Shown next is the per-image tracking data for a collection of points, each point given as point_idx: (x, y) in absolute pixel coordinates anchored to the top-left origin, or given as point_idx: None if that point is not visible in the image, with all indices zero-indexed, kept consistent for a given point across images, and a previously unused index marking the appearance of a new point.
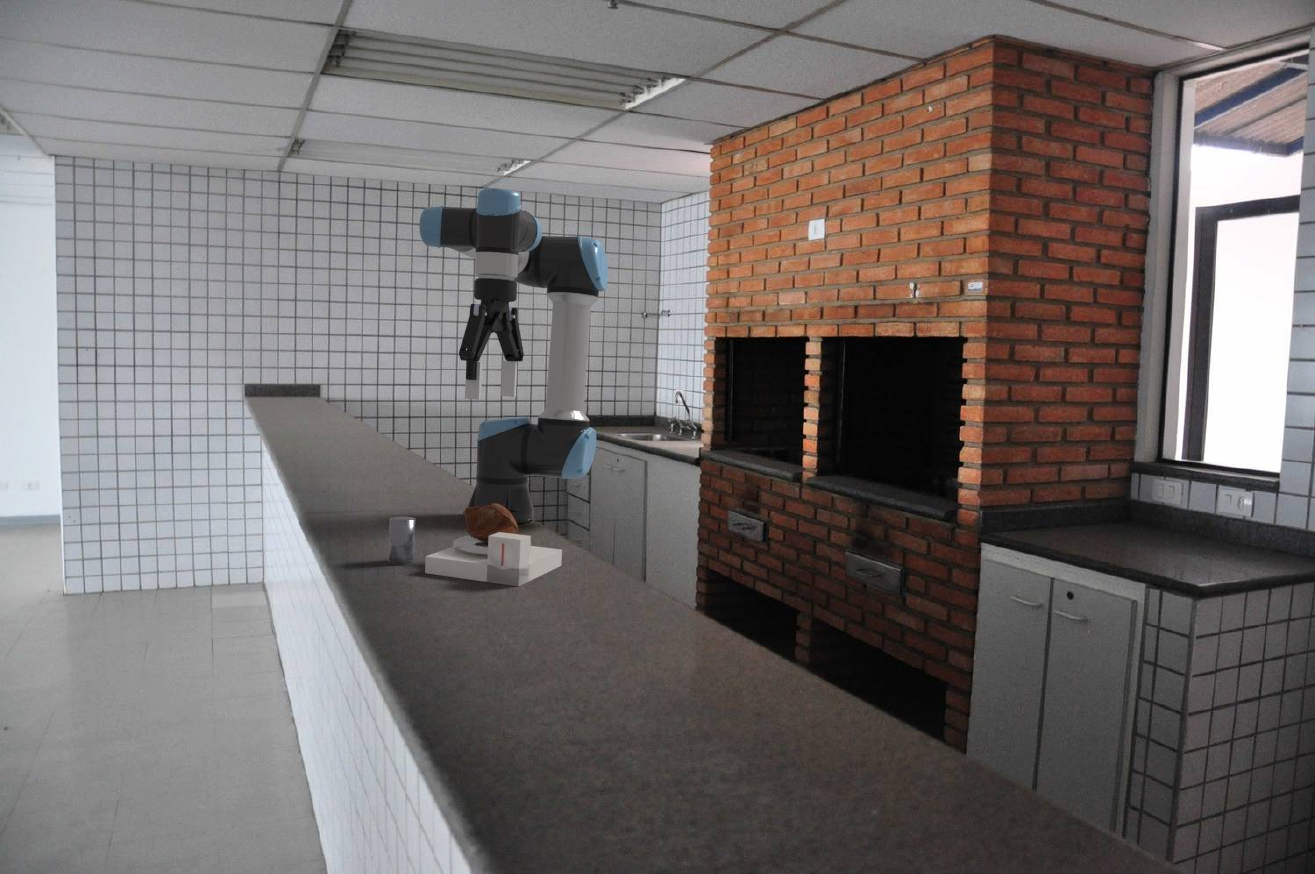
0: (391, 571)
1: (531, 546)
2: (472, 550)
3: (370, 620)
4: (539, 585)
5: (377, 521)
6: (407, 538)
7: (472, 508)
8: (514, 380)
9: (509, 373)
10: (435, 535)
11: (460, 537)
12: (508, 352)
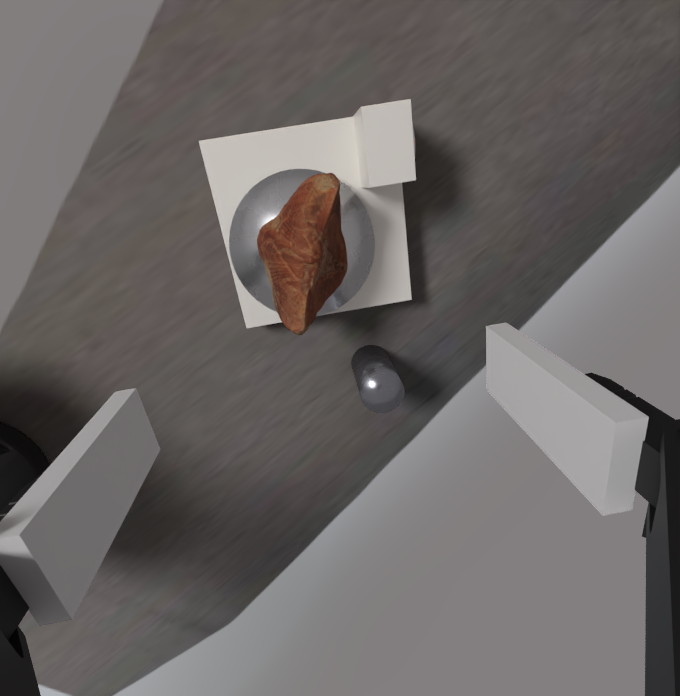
0: (422, 334)
1: (221, 210)
2: (374, 238)
3: (652, 176)
4: (359, 87)
5: (184, 555)
6: (387, 362)
7: (307, 311)
8: (97, 438)
9: (92, 498)
10: (190, 446)
11: None
12: (10, 659)
